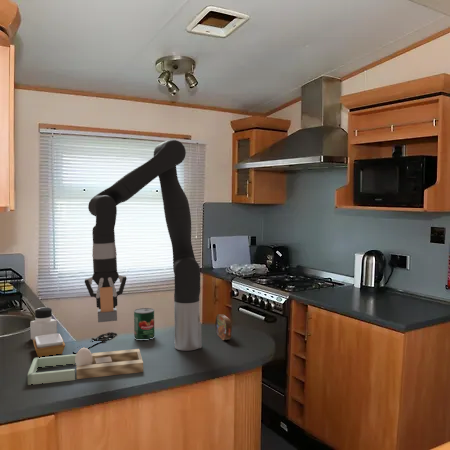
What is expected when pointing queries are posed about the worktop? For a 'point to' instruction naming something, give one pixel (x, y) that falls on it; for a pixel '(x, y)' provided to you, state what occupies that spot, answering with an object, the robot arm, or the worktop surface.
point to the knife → (105, 337)
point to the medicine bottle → (43, 323)
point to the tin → (223, 327)
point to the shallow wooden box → (112, 364)
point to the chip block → (103, 360)
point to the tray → (51, 375)
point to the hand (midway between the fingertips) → (107, 307)
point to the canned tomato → (144, 323)
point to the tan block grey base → (107, 305)
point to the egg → (83, 357)
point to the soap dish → (49, 345)
